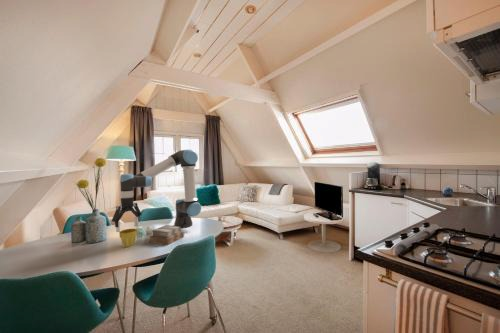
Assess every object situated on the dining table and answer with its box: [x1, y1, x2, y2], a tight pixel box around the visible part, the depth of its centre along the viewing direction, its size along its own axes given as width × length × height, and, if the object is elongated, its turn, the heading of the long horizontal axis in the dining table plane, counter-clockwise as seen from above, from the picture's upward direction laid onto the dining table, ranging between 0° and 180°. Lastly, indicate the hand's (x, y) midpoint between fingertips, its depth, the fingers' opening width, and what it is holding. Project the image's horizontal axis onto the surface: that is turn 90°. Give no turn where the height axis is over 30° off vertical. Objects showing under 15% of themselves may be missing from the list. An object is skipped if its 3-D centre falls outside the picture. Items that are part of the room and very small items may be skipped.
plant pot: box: [118, 228, 138, 248], centre depth 148 cm, size 10×10×10 cm
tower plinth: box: [149, 224, 185, 246], centre depth 157 cm, size 16×16×8 cm
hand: (127, 229), depth 148 cm, fingers open, 13 cm apart
